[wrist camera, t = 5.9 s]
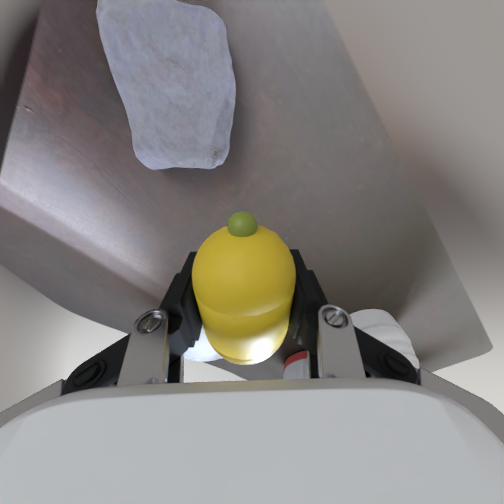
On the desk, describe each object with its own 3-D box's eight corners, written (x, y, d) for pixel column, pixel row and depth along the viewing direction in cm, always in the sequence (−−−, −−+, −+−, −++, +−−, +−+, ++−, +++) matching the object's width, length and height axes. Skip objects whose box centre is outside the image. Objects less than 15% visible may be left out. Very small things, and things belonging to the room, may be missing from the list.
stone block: (228, 23, 16) (103, 5, 14) (236, -7, 13) (69, -37, 11) (233, 165, 23) (149, 166, 21) (239, 173, 19) (137, 176, 18)
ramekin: (230, 339, 41) (228, 363, 37) (180, 335, 40) (171, 360, 35) (236, 306, 35) (235, 331, 31) (177, 301, 34) (166, 326, 29)
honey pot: (385, 340, 43) (460, 451, 28) (330, 347, 44) (374, 457, 29) (399, 304, 36) (510, 427, 21) (334, 313, 37) (395, 436, 22)
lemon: (194, 194, 9) (150, 246, 5) (291, 193, 9) (327, 243, 5) (216, 317, 14) (205, 389, 10) (277, 315, 14) (289, 386, 10)
